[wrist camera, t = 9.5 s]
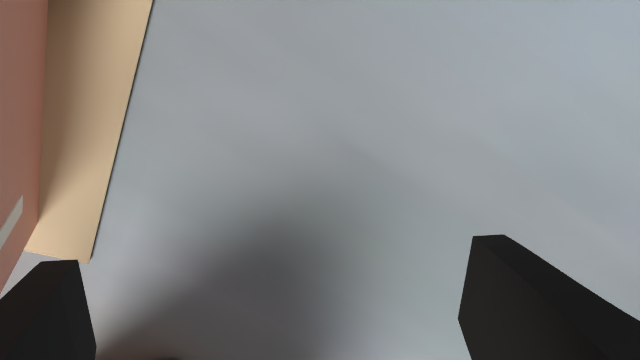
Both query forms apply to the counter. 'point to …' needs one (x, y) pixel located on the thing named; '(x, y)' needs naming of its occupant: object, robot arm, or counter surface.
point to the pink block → (20, 124)
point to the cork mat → (83, 116)
